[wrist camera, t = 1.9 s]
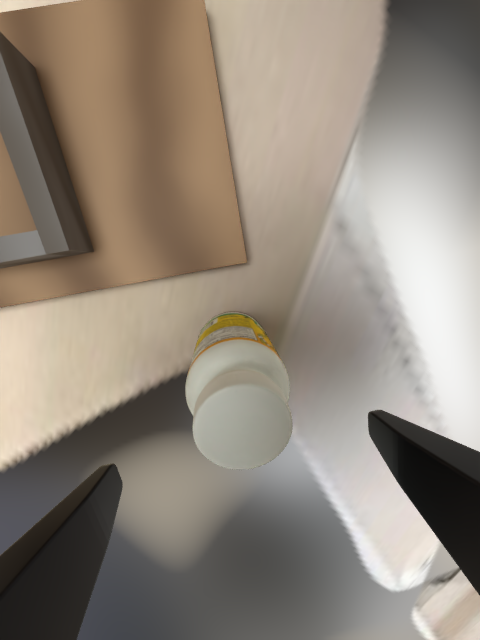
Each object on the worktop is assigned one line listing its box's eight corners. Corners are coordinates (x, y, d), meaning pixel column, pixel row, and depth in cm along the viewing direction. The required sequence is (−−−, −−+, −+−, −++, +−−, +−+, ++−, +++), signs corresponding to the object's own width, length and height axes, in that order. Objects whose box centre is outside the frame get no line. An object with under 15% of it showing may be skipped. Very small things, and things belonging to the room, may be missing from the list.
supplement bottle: (194, 313, 18) (164, 372, 8) (265, 308, 18) (312, 360, 9) (201, 378, 19) (181, 490, 10) (267, 373, 19) (309, 477, 10)
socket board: (203, 12, 13) (195, -88, 10) (245, 261, 17) (251, 262, 13) (-158, 67, 13) (-319, -14, 9) (-37, 313, 17) (-116, 330, 13)
